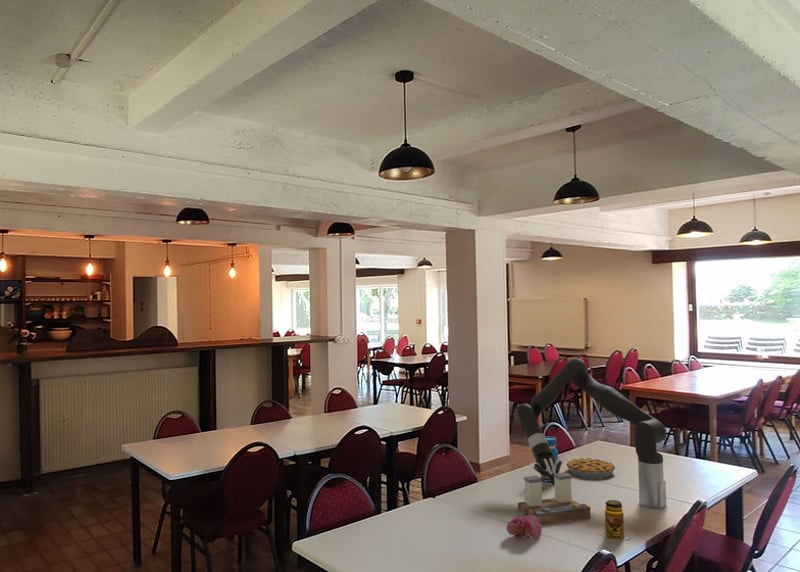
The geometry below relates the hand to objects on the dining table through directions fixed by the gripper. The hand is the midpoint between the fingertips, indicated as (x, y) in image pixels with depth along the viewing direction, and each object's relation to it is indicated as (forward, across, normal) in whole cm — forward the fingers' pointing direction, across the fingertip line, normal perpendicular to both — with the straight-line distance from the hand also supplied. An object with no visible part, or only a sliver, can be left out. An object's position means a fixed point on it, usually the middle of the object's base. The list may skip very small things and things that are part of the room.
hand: (555, 484), depth 233 cm
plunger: (+7, +13, 0) cm, 15 cm away
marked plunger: (+7, 0, 0) cm, 7 cm away
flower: (+24, +28, +12) cm, 39 cm away
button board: (+12, +6, 0) cm, 13 cm away
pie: (-17, -38, -30) cm, 52 cm away
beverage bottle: (-13, -12, -25) cm, 31 cm away
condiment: (+30, -2, +18) cm, 35 cm away
